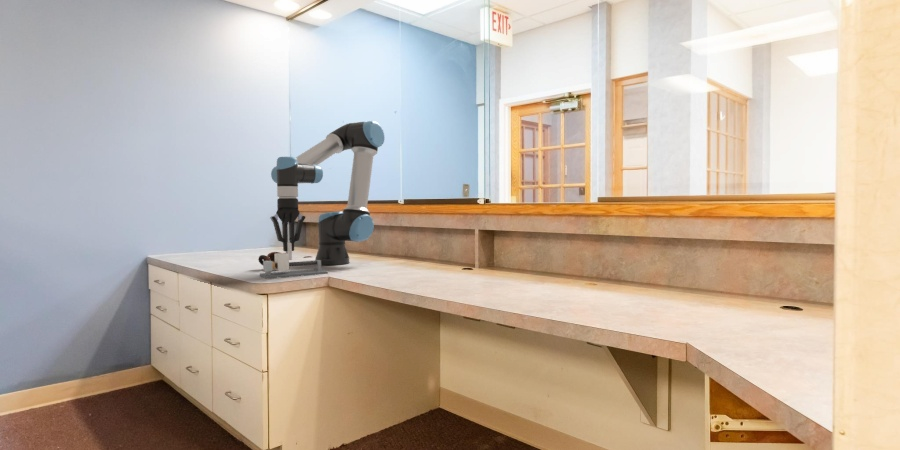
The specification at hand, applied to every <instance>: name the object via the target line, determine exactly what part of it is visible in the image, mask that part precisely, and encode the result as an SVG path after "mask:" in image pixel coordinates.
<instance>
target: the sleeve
mask: <svg viewBox="0 0 900 450" xmlns="http://www.w3.org/2000/svg"><path fill="white" fill-rule="evenodd" d="M274 256H275V263H277V266H278V267H277V268H275V269H274V271H275V272H285V271H290V267H289V262H290V260H289V254H287V253H286V252H280V253H276V254H274Z"/></svg>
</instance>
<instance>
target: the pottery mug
mask: <svg viewBox="0 0 900 450" xmlns="http://www.w3.org/2000/svg"><path fill="white" fill-rule="evenodd" d="M276 253H281V252H280V251H272V252H269V253H268V254H267V255H265V254H261V255H259V256H258V259H257V260H258V262H259V264H260V265H261V266H263V261H273V262H274V263H275V256H274V254H276Z"/></svg>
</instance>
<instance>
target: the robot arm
mask: <svg viewBox="0 0 900 450" xmlns="http://www.w3.org/2000/svg"><path fill="white" fill-rule="evenodd" d="M384 143H385V132H384V129H383V127H382V126H381V125H380V123H378V122H377V121H374V120H365V121H360V122H350V123H346V124H344V125H341V126H340V127H338V128H337V129H335V130H333V131H332V132H330V133H328V134H327V135H326V136H325V139H323V140H321V141H320V142H318V143H317V144H315V145H313V146H312V147H310V148H309V149H307V150H305V151H304V152H302V153H301V154H299V155H298V156H279V157H277V159H276V166H274V167H273V168H272V170H271V172H270V173H271V174H270V175H271V176H270V177H271V179H272V181H273V182H274V183H276V185H277V186H276V189H277V190H276V195H277V196H276V197H277V204H276V205H277V211H276V214H274V215H273V216H270V217H269V219H270V220H271V221H272V223H273V227H274V231H275V234H276V238H277V241H278V242H281V243H282V248H283V249H282V250H283V252H285V253H287V254H289V261H292V260H293V252H294V251H295V243H296V242H297V241H300V237H301V232H302V228H303V223H304V221H305V219H306V216H305V215H303V214H301V213H300V210H299V199H298V197H299V189H298V188H299V184H319V183H320V182H322V180H323V177H324V171H323V168H322V167H321V166H320V165H321V163H322V162H324V161H325V160H328V159H329V158H330V157H332V156H333V155H335V154H340V153H342V152H343V151H347V150H351V152H352V153H353V159H352V167H351V173H350V174H351V175H350V181H349V189H348V197H347V198H348V199H347V205H346V207H344V208H343V210H342V211H331V212H330V211H329V212H324V213H321V214H319V215H318V223H317V226H318V249H317V253H316V255H315V259H314V261H315V260H321V266H334V265H335V266H336V265H337V266H338V265H339V266H340V265H346V264H349V263H350V256H349V253H348V251H347V250H348V249H347V247H346V242H355V243H359V242H364V241H367V240H368V239H369V238H370V237H371V236H372V235H373V231H374V229H375V223H374V221H373V218H372V217H371V216H370V213H371V211H370V210H369V209H368V203H369V195H370V185H371V177H372V171H373V162H374V161H373V160H374V156H375V155H377V154H378V150H379V148H380V147H382V146H383V144H384ZM278 220H280V221H281V225H282V227H280V223H279V221H278ZM296 220H297V223H296V229H295V222H296ZM281 228H282V231H281ZM288 232H289V233H288ZM288 236H289V237H288ZM288 241H289V242H288Z"/></svg>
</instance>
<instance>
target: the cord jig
mask: <svg viewBox="0 0 900 450" xmlns="http://www.w3.org/2000/svg"><path fill="white" fill-rule="evenodd" d="M313 265H314V268H313V269H312V268H310V269H301V270H289V271H275V268H277V267H278V266H277V263H274V262H273V261H263V265H262V266H263V267H262V268H263V273H259V276H260V277H263V278H264V277H265V279H267V278H270V279H278V278H277V277H281V278H289V276H293V277H302V276H301V275H304V276H314V275H315V274H316V275H326V274H328V273H329V271H328V270H324V269H322V265H321V260H315V259H314V260H304V261H289V268H290V267H301V266H303V267H305V266H313ZM273 271H274V272H273Z"/></svg>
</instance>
